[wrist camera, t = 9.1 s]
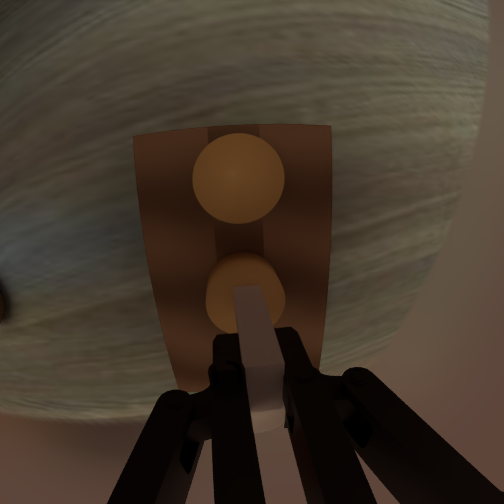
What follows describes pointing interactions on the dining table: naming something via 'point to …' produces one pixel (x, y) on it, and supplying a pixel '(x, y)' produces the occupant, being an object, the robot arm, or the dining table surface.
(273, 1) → the dining table surface
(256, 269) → the knob middle
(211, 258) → the brown rectangular block
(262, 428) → the knob
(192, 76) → the dining table surface
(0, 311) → the squeeze bottle
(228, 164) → the knob
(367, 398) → the robot arm
